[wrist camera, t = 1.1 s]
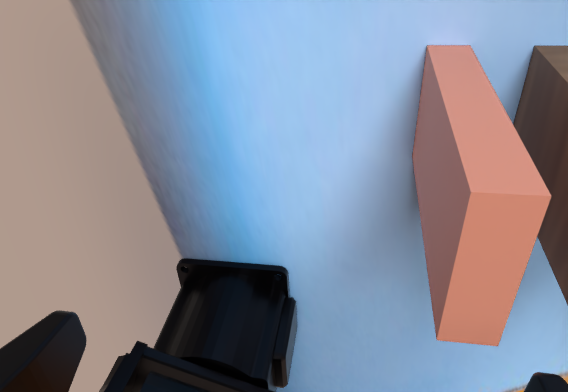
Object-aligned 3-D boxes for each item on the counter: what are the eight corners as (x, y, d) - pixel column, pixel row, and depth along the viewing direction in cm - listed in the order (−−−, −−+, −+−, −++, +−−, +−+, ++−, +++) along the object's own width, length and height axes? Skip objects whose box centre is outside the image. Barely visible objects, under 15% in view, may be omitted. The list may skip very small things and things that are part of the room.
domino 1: (412, 156, 21) (436, 340, 13) (427, 45, 18) (471, 192, 10) (449, 157, 20) (497, 346, 12) (470, 45, 18) (551, 196, 10)
